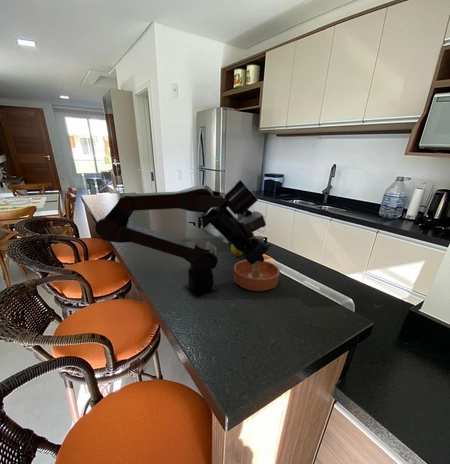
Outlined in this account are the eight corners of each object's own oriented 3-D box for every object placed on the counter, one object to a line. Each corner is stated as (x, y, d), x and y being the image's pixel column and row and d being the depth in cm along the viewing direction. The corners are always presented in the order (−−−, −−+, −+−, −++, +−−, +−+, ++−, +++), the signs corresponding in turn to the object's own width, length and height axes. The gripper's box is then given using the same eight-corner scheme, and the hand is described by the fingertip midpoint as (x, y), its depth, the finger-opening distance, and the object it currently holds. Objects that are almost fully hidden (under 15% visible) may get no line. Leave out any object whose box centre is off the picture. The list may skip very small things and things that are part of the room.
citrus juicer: (197, 240, 111) (197, 194, 102) (170, 252, 98) (167, 201, 89) (172, 233, 118) (169, 190, 109) (143, 243, 105) (137, 195, 96)
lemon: (234, 260, 93) (236, 240, 90) (228, 255, 97) (228, 235, 94) (247, 258, 95) (249, 238, 92) (240, 253, 100) (241, 234, 96)
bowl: (255, 298, 70) (256, 284, 68) (224, 278, 80) (224, 266, 78) (287, 284, 78) (289, 271, 76) (255, 267, 88) (256, 256, 86)
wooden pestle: (260, 283, 74) (265, 241, 68) (245, 280, 76) (248, 238, 70) (264, 276, 78) (269, 235, 72) (249, 273, 80) (253, 233, 74)
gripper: (265, 211, 57) (298, 251, 66) (236, 196, 73) (266, 229, 81) (231, 246, 58) (268, 280, 67) (210, 223, 74) (242, 254, 82)
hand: (261, 258), depth 74 cm, fingers closed on wooden pestle, 2 cm apart
